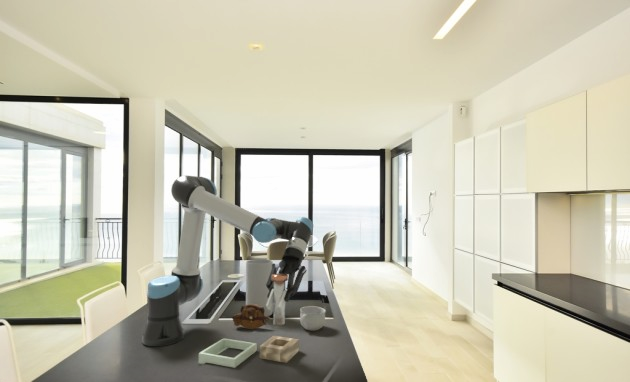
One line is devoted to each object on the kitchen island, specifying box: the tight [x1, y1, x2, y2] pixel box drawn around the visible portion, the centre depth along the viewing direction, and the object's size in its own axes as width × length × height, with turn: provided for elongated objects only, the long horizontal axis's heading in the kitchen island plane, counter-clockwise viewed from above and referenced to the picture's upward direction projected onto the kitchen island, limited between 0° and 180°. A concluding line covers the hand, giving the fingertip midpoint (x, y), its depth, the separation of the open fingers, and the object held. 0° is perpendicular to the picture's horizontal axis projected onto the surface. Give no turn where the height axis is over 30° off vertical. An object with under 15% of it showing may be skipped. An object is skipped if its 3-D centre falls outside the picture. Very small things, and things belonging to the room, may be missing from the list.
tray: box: [198, 337, 258, 369], centre depth 126 cm, size 14×14×4 cm
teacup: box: [299, 305, 327, 332], centre depth 154 cm, size 14×11×8 cm
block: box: [259, 335, 300, 364], centre depth 127 cm, size 10×10×5 cm
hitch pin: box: [271, 273, 289, 326], centre depth 127 cm, size 6×6×17 cm
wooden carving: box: [231, 304, 271, 330], centre depth 155 cm, size 16×5×10 cm, turn 82°
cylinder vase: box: [245, 258, 274, 317], centre depth 174 cm, size 12×12×25 cm
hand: (274, 308), depth 123 cm, fingers closed on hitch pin, 4 cm apart
